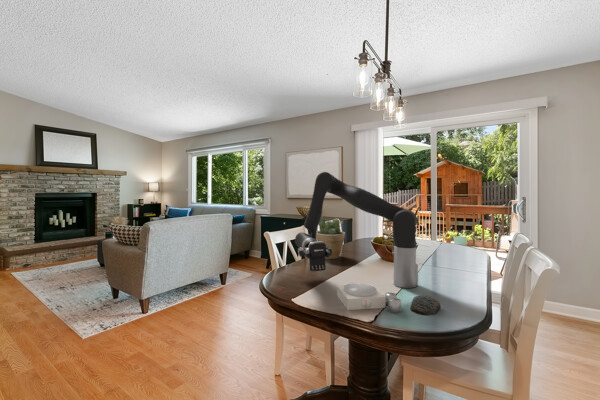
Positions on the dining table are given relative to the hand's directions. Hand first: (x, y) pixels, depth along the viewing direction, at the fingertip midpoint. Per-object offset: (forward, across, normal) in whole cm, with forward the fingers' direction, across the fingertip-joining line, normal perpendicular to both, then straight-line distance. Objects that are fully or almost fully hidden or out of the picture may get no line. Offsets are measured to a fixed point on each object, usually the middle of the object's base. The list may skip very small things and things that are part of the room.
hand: (318, 255), depth 110 cm
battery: (-2, 0, +7) cm, 7 cm away
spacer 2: (+16, +24, +17) cm, 33 cm away
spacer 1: (+11, +24, +17) cm, 32 cm away
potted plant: (-65, +21, +17) cm, 71 cm away
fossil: (+14, +35, +18) cm, 42 cm away
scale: (+6, +14, +17) cm, 23 cm away
